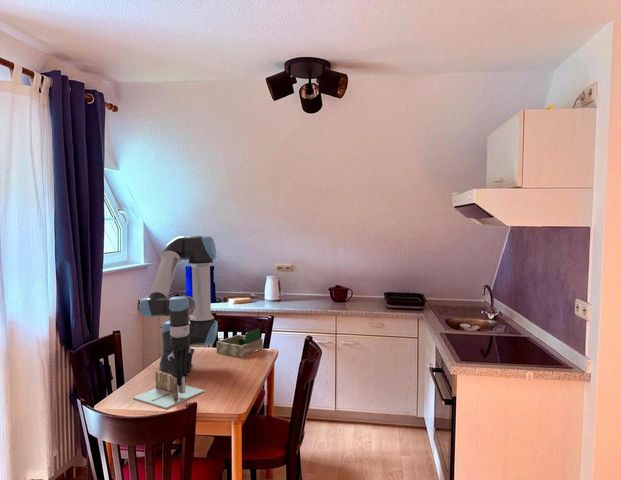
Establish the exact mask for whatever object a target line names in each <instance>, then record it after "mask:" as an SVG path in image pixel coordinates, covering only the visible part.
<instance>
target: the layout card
mask: <svg viewBox="0 0 621 480" xmlns="http://www.w3.org/2000/svg"><path fill="white" fill-rule="evenodd" d="M185 392H186V393H183V394H182V393H179V392H178V400H177V401H174V396H173V393H171V391H168V390H165V389H161V388H158V389H156V387H155V388H153V389H150V390H148V391H145V392H143V393H141V394H138V395H136V396H132V400H136V401H138V402H143V403H145V404H148V405H152V406H155V407H159V408H161V409H164V410H168V409H169V408H172V407H174V406H177V405H179V404H181V403H183V402H185V401H187V400H189V398H190V399H191V398H194V397H196V396H198V395H201V394H202V393H204V392H205V390H204V389H202V388H201V389H200V388H197V387H193V386H189V385H186V384H185Z"/></svg>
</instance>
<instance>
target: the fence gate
mask: <svg viewBox="0 0 621 480" xmlns="http://www.w3.org/2000/svg"><path fill="white" fill-rule="evenodd" d="M172 393H173V396H174V401H177V400H178V383H177V379H176V378H175V377H172Z"/></svg>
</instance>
